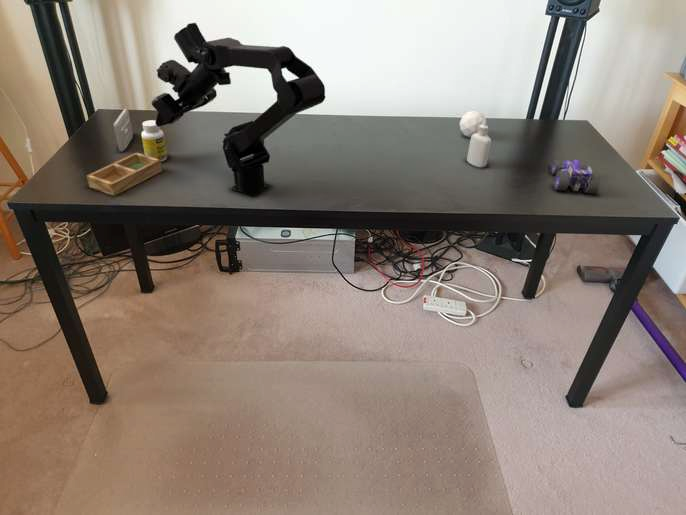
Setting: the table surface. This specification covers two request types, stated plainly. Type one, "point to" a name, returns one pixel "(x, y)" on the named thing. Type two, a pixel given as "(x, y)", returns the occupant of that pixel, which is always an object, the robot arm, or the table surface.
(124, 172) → the tray
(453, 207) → the table surface
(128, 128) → the cassette
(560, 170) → the toy race car
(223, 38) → the robot arm
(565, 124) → the table surface
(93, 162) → the table surface
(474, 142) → the eye dropper bottle
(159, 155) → the supplement bottle
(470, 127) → the geometric ball
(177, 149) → the table surface
